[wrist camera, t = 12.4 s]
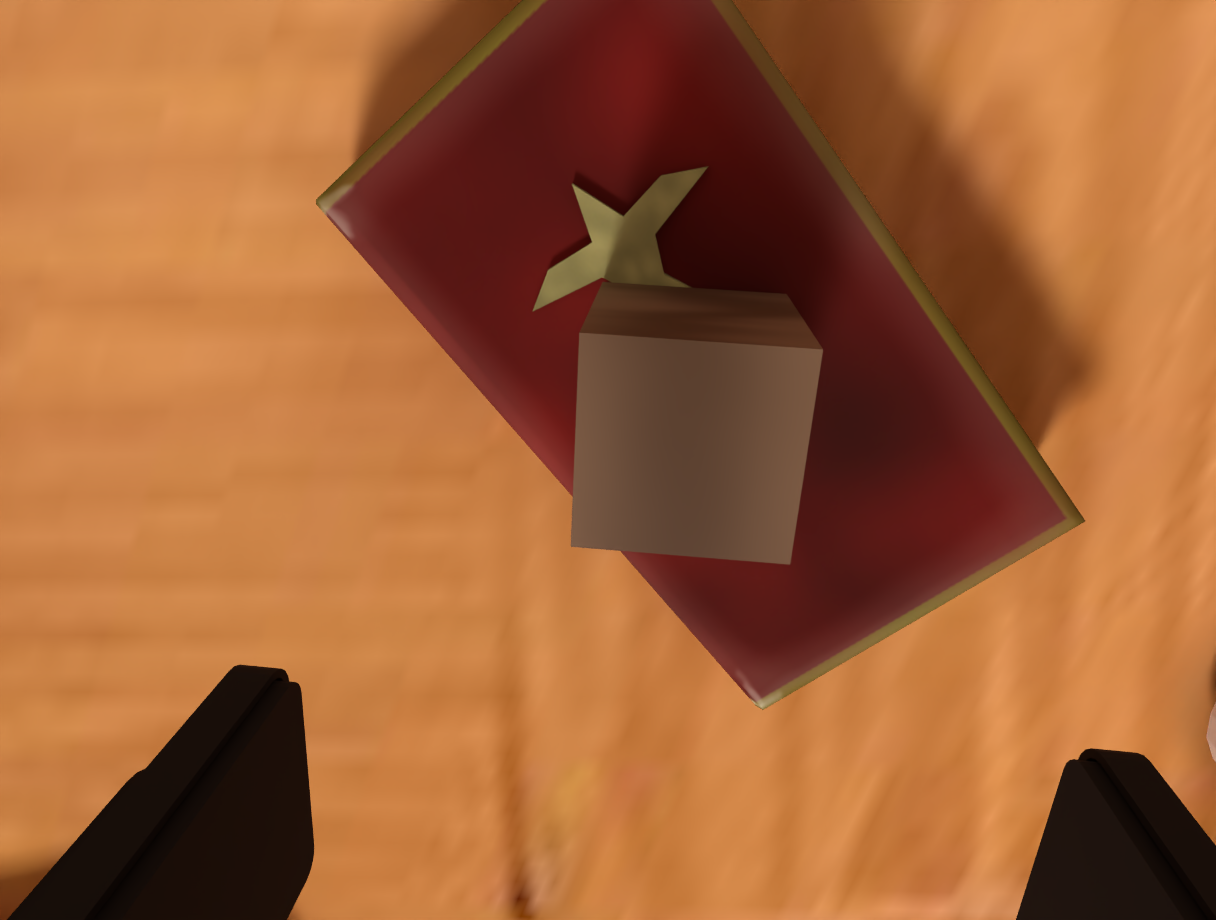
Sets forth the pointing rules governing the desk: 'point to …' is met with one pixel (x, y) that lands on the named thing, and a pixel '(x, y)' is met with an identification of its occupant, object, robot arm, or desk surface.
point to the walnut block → (692, 422)
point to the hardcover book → (711, 259)
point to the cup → (1212, 733)
